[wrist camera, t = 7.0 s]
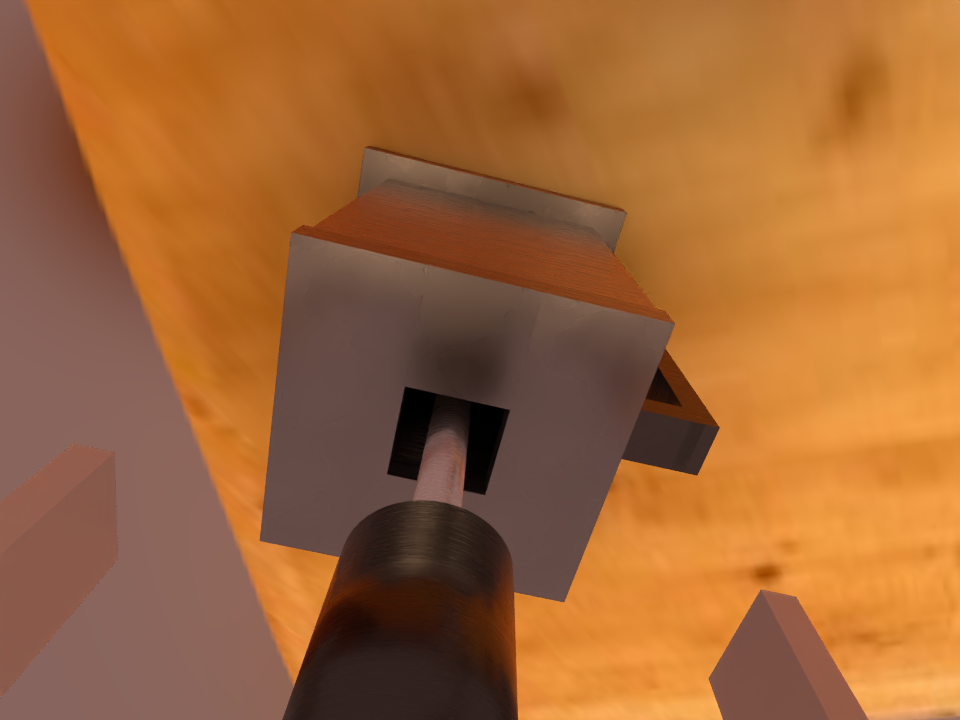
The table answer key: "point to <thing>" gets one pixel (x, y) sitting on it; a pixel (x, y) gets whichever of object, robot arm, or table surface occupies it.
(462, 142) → the table surface
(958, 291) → the table surface
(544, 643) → the table surface
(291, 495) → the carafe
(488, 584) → the plunger
